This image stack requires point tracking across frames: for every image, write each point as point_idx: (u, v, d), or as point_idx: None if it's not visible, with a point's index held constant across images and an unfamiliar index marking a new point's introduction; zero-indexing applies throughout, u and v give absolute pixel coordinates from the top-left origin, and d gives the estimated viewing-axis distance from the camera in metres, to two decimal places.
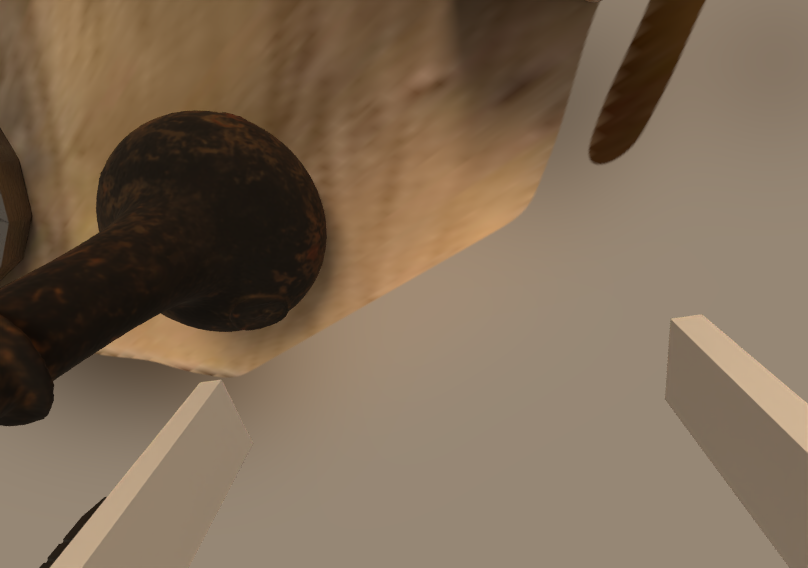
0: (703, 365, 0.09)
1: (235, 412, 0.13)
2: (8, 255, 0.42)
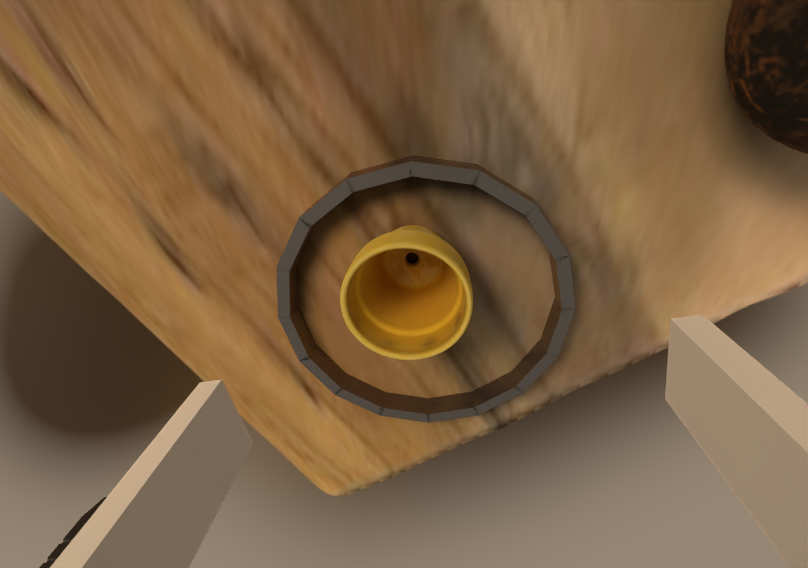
0: (703, 365, 0.09)
1: (235, 412, 0.13)
2: None
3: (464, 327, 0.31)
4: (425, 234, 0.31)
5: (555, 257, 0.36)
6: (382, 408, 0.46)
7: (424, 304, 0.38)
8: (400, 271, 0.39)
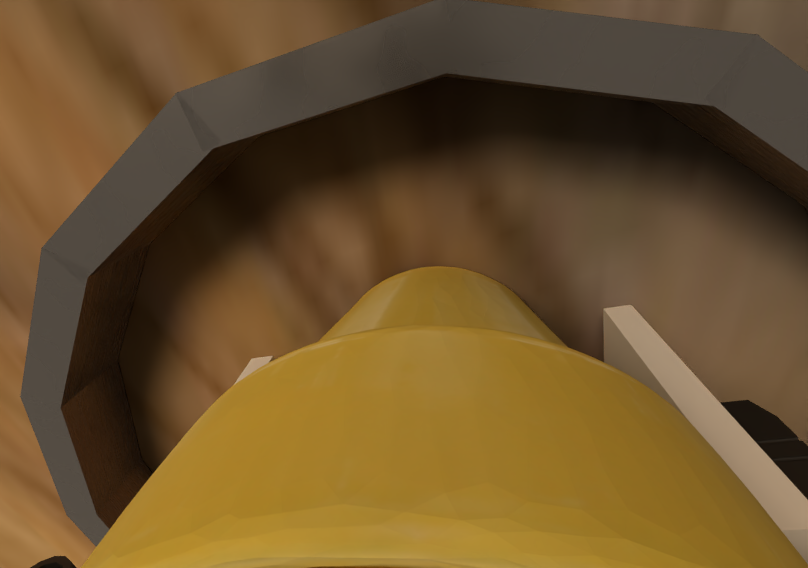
0: (624, 349, 0.10)
1: None
2: None
3: None
4: (551, 364, 0.05)
5: None
6: None
7: None
8: None
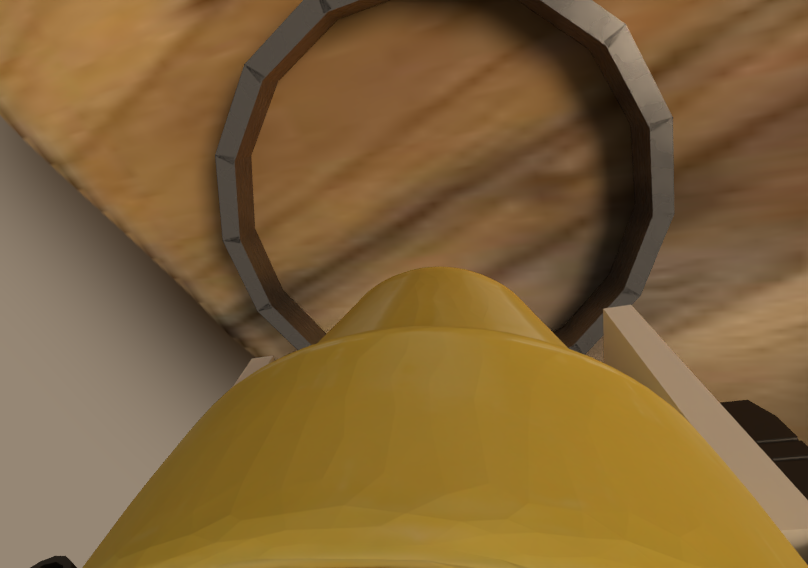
0: (624, 349, 0.10)
1: None
2: None
3: None
4: (552, 365, 0.05)
5: None
6: (232, 161, 0.25)
7: None
8: None
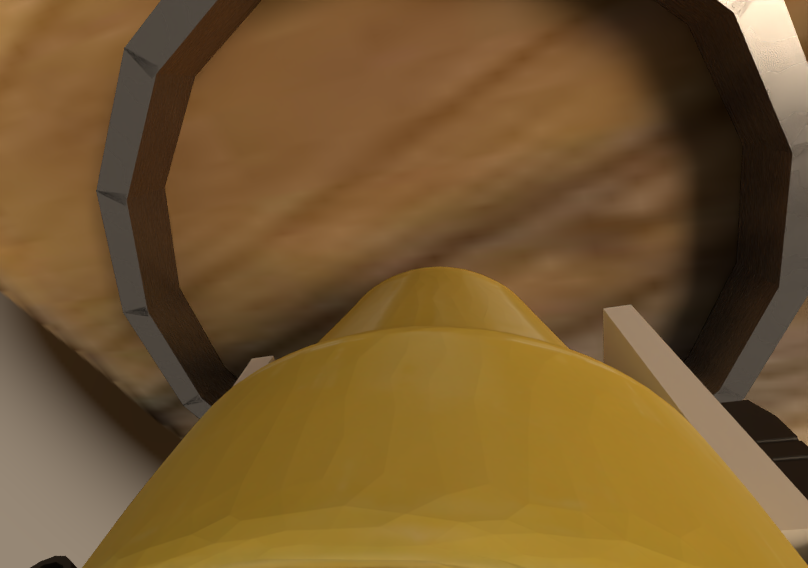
0: (624, 349, 0.10)
1: None
2: None
3: None
4: (552, 365, 0.05)
5: None
6: (124, 199, 0.16)
7: None
8: None
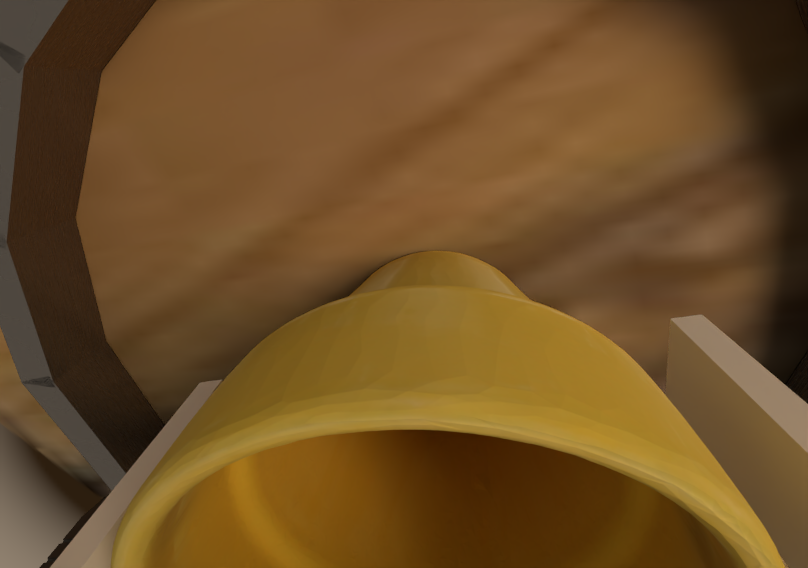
0: (703, 365, 0.09)
1: None
2: None
3: None
4: (522, 311, 0.06)
5: None
6: (3, 241, 0.12)
7: (472, 480, 0.13)
8: None
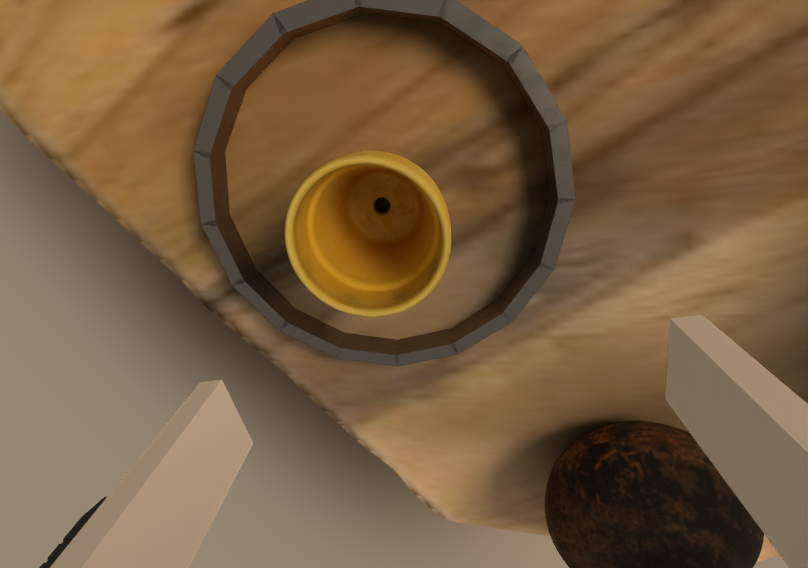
0: (703, 365, 0.09)
1: (235, 412, 0.13)
2: None
3: (440, 271, 0.25)
4: (391, 153, 0.25)
5: (455, 343, 0.36)
6: (208, 155, 0.30)
7: (396, 258, 0.31)
8: (369, 222, 0.33)
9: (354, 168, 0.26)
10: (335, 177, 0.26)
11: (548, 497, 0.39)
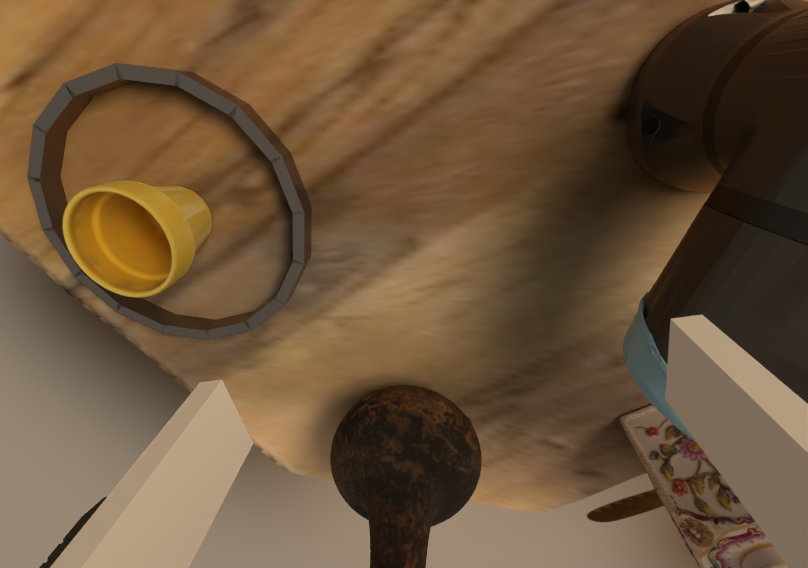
0: (703, 365, 0.09)
1: (235, 412, 0.13)
2: None
3: (173, 264, 0.36)
4: (136, 183, 0.36)
5: (247, 321, 0.47)
6: (38, 180, 0.41)
7: None
8: None
9: None
10: (107, 198, 0.37)
11: None
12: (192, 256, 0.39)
